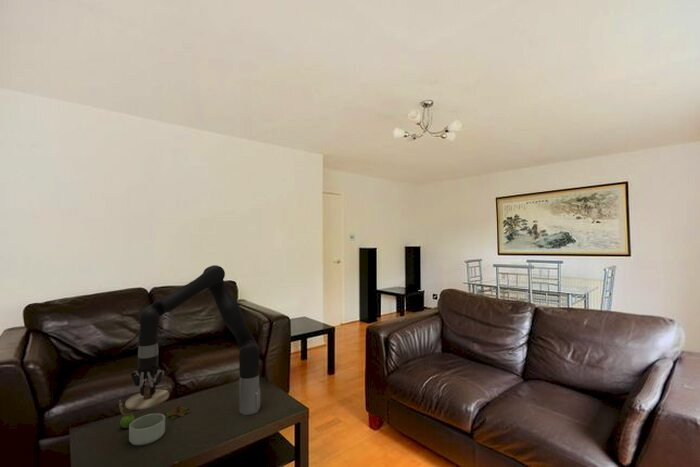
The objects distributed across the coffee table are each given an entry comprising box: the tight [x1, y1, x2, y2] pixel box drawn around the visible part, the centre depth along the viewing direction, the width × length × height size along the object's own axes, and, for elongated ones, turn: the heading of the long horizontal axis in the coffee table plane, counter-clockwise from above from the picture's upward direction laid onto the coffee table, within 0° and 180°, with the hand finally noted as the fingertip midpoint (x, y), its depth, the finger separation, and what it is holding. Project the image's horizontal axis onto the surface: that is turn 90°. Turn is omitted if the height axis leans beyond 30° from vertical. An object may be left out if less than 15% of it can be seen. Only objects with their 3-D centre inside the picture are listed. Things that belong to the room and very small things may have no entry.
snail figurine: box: [118, 399, 136, 429], centre depth 148 cm, size 5×6×12 cm
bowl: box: [128, 412, 166, 446], centre depth 140 cm, size 13×13×6 cm
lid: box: [124, 383, 170, 411], centre depth 141 cm, size 16×16×6 cm
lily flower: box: [164, 403, 192, 420], centre depth 160 cm, size 12×12×5 cm
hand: (147, 394), depth 141 cm, fingers closed on lid, 3 cm apart
